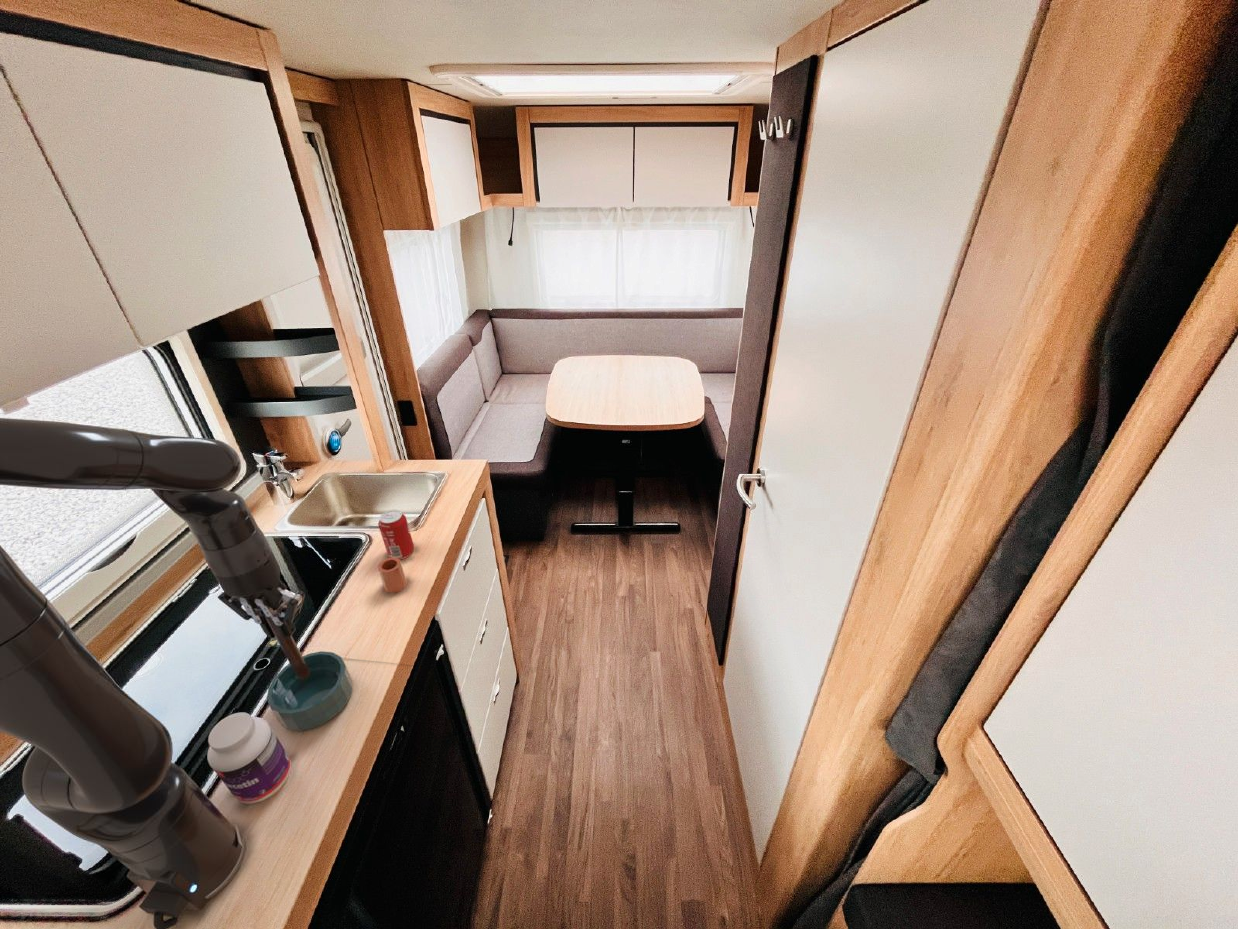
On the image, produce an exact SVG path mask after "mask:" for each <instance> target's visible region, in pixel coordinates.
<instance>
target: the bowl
mask: <svg viewBox="0 0 1238 929" xmlns="http://www.w3.org/2000/svg"><path fill="white" fill-rule="evenodd" d="M302 657H303V658H304V660H305V662H306V664H307V666H308V668H309V670H310V675H309V676H308V677H307V678H305V679H298V677H297V675H296V673H295V672H294V670H293V668H292V666H291V664H290V663H288V664H287V665H286V666H284V667H283V668H282V669H281V670H280V671H279V672H278V673H277V674H276V675H275V676H274V678H273V679H272V681H271V682H270V685H269V687H268V689H267V694H266V701H267V703H268V705H269V708H270V710H271V711H272V713H273V714H274V716H275V717H276V719H277V720H278V722H279V724H280V725H281V726H283V727H284V728H286V729H287V730H290V731H291V730H292V731H298V732H299V731H300V732H301V731H307V730H311V729H315V728H317V727H319V726H321V725H323V724H325V723H327V722H329V721H330V720H331V719H333V718H334V717H335V716H337V714H339V713H340V712H341V711H342V710H343V708H344V707H345V706H346V705H347V704H348V703H349V700H350V698H351V695H352V692H353V686H354V684H353V683H354V682H353V679H352V676H351V674H350V672H349V670H348V667H347V666H346V663H345V661H344V660H343V658H342V656H340V655H338V654H337V653H335V652H332V651H316V652H310V653H308V654H305V655H302Z"/></svg>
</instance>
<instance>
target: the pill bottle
mask: <svg viewBox="0 0 1238 929" xmlns="http://www.w3.org/2000/svg"><path fill="white" fill-rule="evenodd" d="M207 738H208V739H207V742H208V745H209V747H208V750H207V755H206V756H207V762H208V765H209V766H210V768H211V769H212V770H213V771H214V773H215V774H216V775H217V777H219V779H220V780H221V782H222V783H223V784H224V785H225V786H226V788H227V789H228V790H229V791H230V793H231V794H232V795H233V797H234V798H235V799H236V800H237V801H238V802H240V803H242V804H249V805H251V804H257V803H260V802H262V801H265V800H267V799H268V798H270V797H272V796H273V795H274V794H276V793H277V792H278V791H279V790H280V789H281V788H282V787H283V786H284V784H285V783H286V782H287V780H288V779H289V775H290V773H291V770H292V760H291V757H290V756H289V754H288V752H287V750H286V749H285V748H284V747H283V745H282V743H281V741H280V740H279V738H278V736H277V735H276V733H275V732H274V730H273V729H272V727H271V725H270V724H269V722H268V721H267V720H266V719H264V718H262V717H258V716H252V715H251V714H249V713H247V712H245V711H244V712H242V711H241V712H235V713H232V714H230V715H227V716H225V717H224V718H223V719H221V720H220V721H219V722H217V723H216V725H215V726H213V727H212V729H211V731H210V732H209V735H208V737H207Z"/></svg>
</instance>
